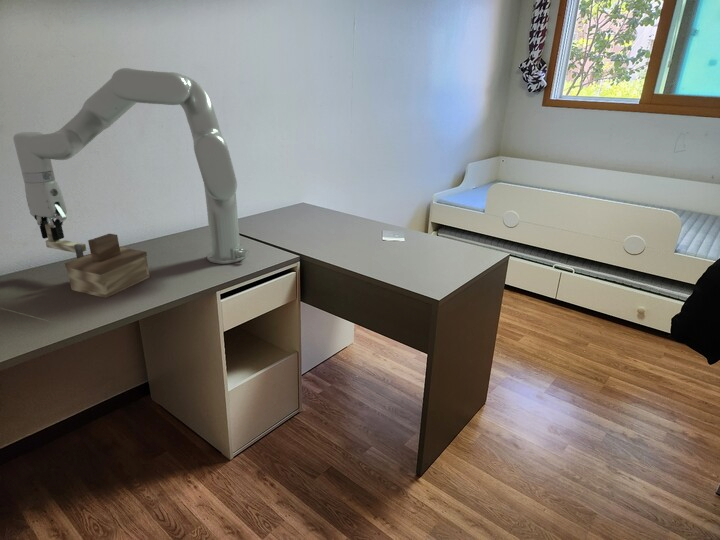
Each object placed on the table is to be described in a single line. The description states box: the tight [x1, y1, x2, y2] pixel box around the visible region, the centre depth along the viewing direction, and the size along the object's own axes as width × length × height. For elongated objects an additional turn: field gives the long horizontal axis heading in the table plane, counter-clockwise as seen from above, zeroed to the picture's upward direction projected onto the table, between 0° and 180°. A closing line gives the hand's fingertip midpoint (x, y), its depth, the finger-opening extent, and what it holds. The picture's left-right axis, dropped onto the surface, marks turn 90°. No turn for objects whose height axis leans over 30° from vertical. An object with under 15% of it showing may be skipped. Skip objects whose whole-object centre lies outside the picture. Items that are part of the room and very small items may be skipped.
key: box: [45, 222, 87, 254], centre depth 139 cm, size 13×3×7 cm, turn 69°
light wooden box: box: [66, 239, 150, 299], centre depth 136 cm, size 15×16×12 cm
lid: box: [64, 233, 148, 275], centre depth 134 cm, size 13×16×8 cm
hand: (53, 237), depth 140 cm, fingers open, 3 cm apart
